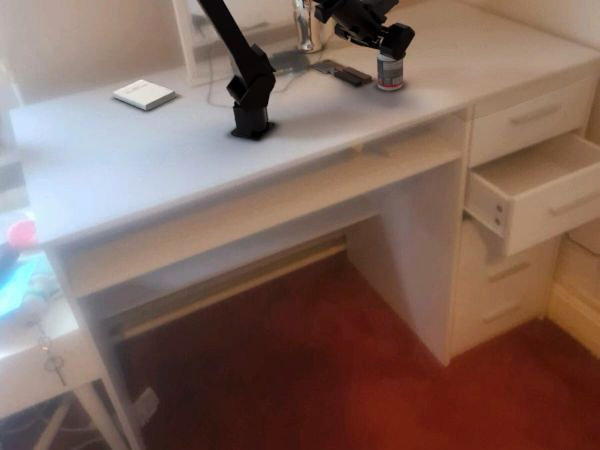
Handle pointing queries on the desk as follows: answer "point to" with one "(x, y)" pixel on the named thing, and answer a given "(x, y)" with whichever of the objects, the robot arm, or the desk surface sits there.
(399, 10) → the desk surface
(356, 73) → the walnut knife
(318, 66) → the black-handled fork
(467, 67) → the desk surface
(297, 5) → the beer glass
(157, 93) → the hard drive
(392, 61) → the pill bottle
